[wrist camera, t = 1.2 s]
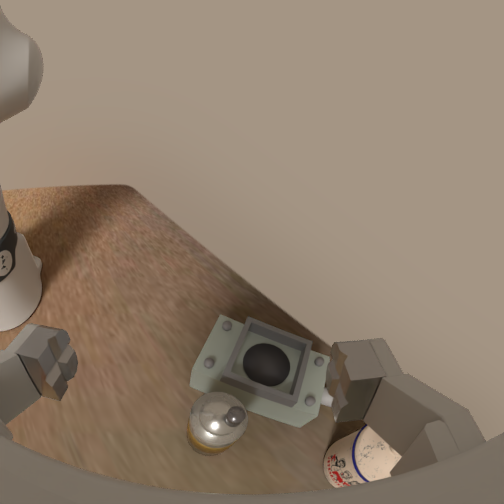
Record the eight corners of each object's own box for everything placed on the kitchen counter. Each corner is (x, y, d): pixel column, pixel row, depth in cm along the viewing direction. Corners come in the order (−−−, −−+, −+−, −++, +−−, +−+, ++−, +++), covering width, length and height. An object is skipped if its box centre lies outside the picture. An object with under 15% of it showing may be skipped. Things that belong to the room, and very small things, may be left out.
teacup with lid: (307, 461, 32) (352, 444, 24) (351, 424, 37) (399, 395, 29) (357, 516, 26) (413, 511, 18) (396, 475, 31) (451, 457, 23)
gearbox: (189, 386, 37) (193, 361, 31) (214, 336, 43) (222, 305, 38) (325, 435, 35) (354, 419, 30) (336, 382, 42) (362, 359, 36)
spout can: (179, 445, 30) (181, 423, 22) (196, 409, 35) (206, 371, 26) (222, 462, 30) (244, 448, 21) (237, 425, 34) (263, 394, 26)
